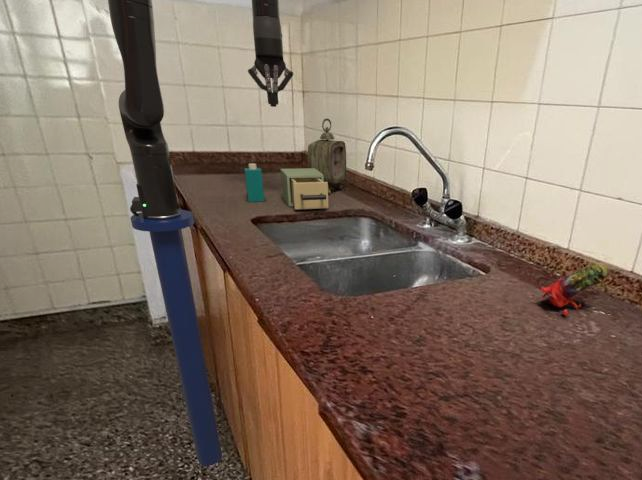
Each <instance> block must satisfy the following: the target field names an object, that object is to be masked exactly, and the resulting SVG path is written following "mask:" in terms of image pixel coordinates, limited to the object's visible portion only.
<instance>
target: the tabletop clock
mask: <svg viewBox="0 0 642 480" xmlns="http://www.w3.org/2000/svg"><path fill="white" fill-rule="evenodd" d="M327 121H328V122H329V127H328V126H325V127H324V125H325V122H327ZM321 128H322V130H323V131H324V132H322V133H321V134H320V137H319V139H317V140H315V141H312V142H311V143H309V144H308V145H307V168H315V169H316V170H318V171H319V172H320V173H322V174H323V175H324V182H328V195H331V194H332V190H330V186H329V185H330V184H332V185H336V184H337V186H338V189H339V190H342V189H343V185H342V184H340V183H342V182H343V181H345V179H346V175H347V147H346V143H345V141H343V140H335V136H334V134H333V133H332V132H330V131H331V129H332V120H331V119H329V118H324V119H323V120H322V123H321Z"/></svg>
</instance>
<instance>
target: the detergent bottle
mask: <svg viewBox="0 0 642 480" xmlns="http://www.w3.org/2000/svg"><path fill="white" fill-rule="evenodd" d="M247 166H248V167H244V179H245V187H246V195H247V196H246V197H247V201H248V203H254V202H255V203H256V202H265V194H264V193H265V192H264V181H263V172H262V168H260V167H257V163H248V165H247Z"/></svg>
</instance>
